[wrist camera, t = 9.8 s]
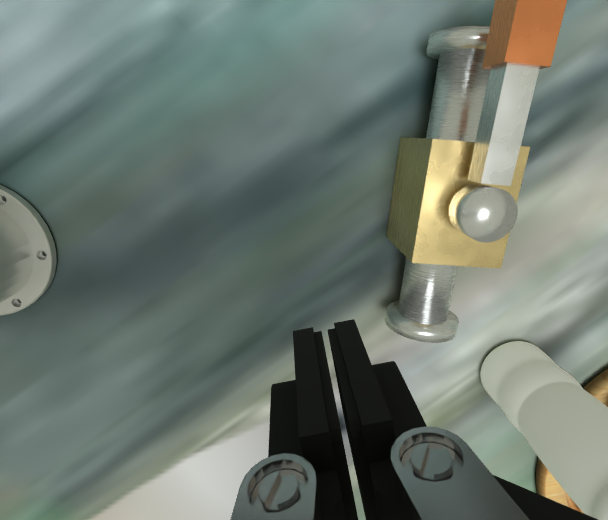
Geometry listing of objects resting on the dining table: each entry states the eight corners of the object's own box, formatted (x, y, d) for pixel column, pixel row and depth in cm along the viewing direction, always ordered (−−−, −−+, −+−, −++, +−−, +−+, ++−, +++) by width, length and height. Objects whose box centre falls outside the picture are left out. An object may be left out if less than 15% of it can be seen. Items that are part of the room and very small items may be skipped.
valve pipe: (375, 308, 40) (399, 354, 32) (414, 41, 33) (457, 12, 25) (443, 312, 41) (483, 358, 32) (496, 50, 33) (565, 23, 25)
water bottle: (543, 387, 44) (849, 687, 20) (480, 401, 44) (709, 716, 20) (540, 331, 42) (879, 594, 18) (474, 346, 42) (722, 627, 18)
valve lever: (493, -23, 24) (519, -42, 22) (550, -16, 24) (582, -33, 22) (442, 231, 29) (459, 241, 26) (490, 234, 29) (511, 245, 27)
